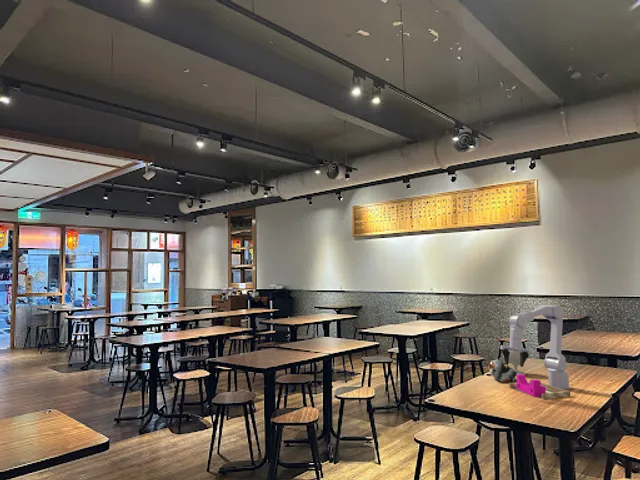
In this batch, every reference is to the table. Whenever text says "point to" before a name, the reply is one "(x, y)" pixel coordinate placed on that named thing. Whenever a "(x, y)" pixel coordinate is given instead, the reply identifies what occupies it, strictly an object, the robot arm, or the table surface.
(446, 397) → the table surface
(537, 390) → the toy block
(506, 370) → the grey plush toy
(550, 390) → the wooden board
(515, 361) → the chalice
